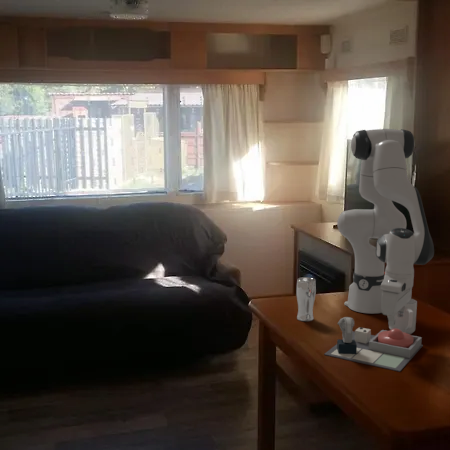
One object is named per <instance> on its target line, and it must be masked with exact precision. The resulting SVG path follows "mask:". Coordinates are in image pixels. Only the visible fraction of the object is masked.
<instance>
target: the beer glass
mask: <svg viewBox="0 0 450 450" xmlns="http://www.w3.org/2000/svg"><path fill="white" fill-rule="evenodd" d="M316 285H317V284H316V279H315V278H313V277H304V276H303V277H299V278H297V281H296V300H297V309H298V311H297V316H296V319H297V320H298V321H300V322H312V321H314V313H313V311H314V304H315V299H316V292H317V289H316Z"/></svg>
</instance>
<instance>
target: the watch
mask: <svg viewBox="0 0 450 450" xmlns="http://www.w3.org/2000/svg"><path fill="white" fill-rule="evenodd" d="M337 325H339V328H340V331H341V332H342V335H341V336H342V339H340V338H338V339H337V341H336V342H337V343H336V344H337V350H338V353H339V354H356V350H357V344H356V342H355V340H352V337H353V334H352V332H353V328H354V327H355V319H354V318H353V317H350V316H344V317H341V318H340V319H339V320H338V322H337Z"/></svg>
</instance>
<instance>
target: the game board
mask: <svg viewBox="0 0 450 450" xmlns="http://www.w3.org/2000/svg"><path fill="white" fill-rule="evenodd" d="M371 330H372V329H370V328H365V327H362V326H361V327H360V326H359V327H358V328H356V329H355V330H354V331H353V330H352V334H353V337H352V340H355V342H356V344H357V350H356V354H339V353H338V350H337V343H336V344H335V345H334V346H332V347H331V348H330V349H329V350H328V351H326V352H325V353H324V356H327V357H332V358H337V359H341V360H345V361H349V362H354V363H355V362H356V363H359V364H364V365H367V366H373V367H375V368H376V367H377V368H381V369H385V370H391V371H394V372H395V371H396V372H399V373H400V372H401V371H402V370H403V369H404V368H405V367H406V366H407V365H408V363H409V362H410V361H411V360H412V359H414V357H415V355H416V354H417V353H418V352H419V351H420V350H421V348H422V347H423V346H424V345H423V344H422V340H423V339H422V338H423V337H421V336H417V335H412V334H410V335H411V336H413V338H414V339H413V344H412V345H411V346H410V347H409V348H403V347H398V346H393V345H389V344H384V343H379V342H378V334H379V333H380V332H383V331H387V330H386V329H385V330H384V329H382V330H380V331H379V332H378V333H376V334H375V335H374V334H372V331H371Z"/></svg>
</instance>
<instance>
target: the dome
mask: <svg viewBox="0 0 450 450" xmlns="http://www.w3.org/2000/svg"><path fill="white" fill-rule="evenodd" d="M379 332H380V331H379ZM379 332H378V333H379ZM378 333H377V334H378ZM411 335H412V334H408V333H404V332H402V331H401V330H400V329H397V328H394V329H391V330H390V329H389V330H386V331H383V332H380V333H379V334H378V342H379V343H384V344H389V345H393V346H398V347H403V348H409V347H410V346H411V345H412V344H413V339H414V338H413V336H414V335H412V336H411Z"/></svg>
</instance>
